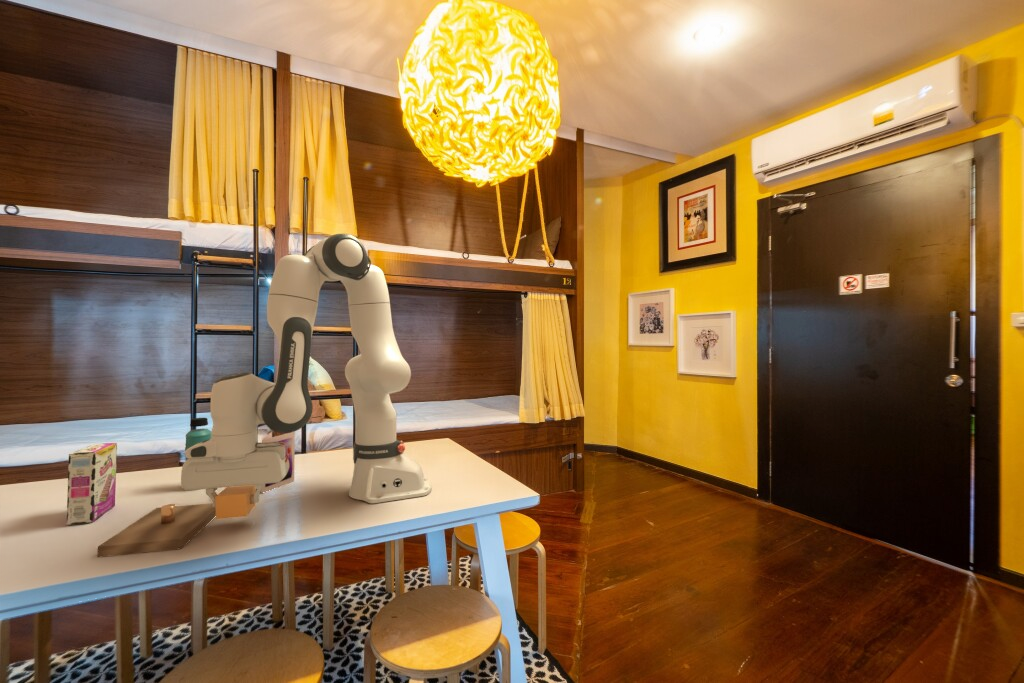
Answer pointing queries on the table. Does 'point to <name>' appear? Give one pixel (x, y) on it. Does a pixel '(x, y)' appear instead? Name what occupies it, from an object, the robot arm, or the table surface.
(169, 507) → the post
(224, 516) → the orange wooden cube
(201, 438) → the beverage bottle
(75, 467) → the candy bar box
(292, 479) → the greeting card
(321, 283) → the robot arm
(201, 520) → the base plate
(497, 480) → the table surface
